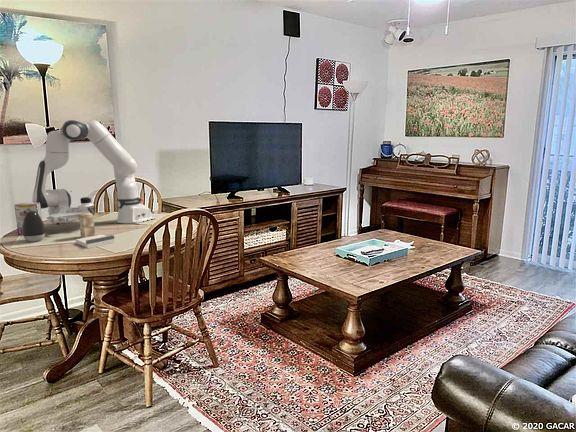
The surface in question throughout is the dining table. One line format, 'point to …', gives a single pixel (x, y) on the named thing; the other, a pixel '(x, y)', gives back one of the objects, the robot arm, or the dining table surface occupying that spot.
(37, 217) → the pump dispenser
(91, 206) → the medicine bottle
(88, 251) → the dining table surface
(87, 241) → the dock
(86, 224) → the oak block
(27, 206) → the candy bar box
